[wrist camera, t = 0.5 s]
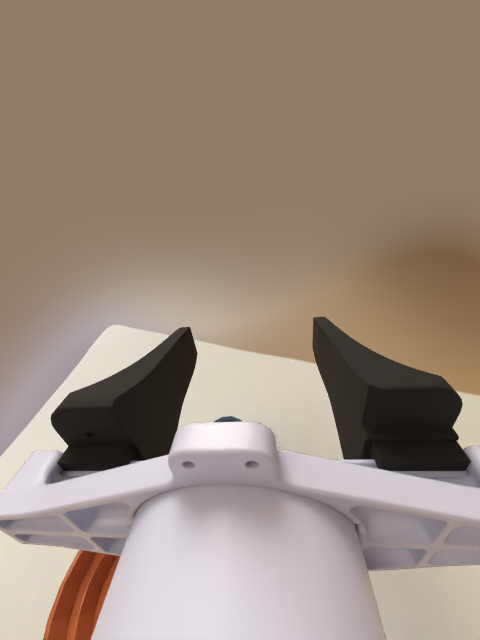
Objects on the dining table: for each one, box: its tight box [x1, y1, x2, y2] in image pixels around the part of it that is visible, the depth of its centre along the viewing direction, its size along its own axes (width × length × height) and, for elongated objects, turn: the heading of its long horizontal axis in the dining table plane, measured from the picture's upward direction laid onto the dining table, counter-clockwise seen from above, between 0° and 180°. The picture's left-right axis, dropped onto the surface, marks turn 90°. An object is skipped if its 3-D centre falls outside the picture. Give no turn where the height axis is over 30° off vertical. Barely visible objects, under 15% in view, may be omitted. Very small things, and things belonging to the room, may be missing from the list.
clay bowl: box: [43, 550, 120, 640], centre depth 22 cm, size 15×15×4 cm
